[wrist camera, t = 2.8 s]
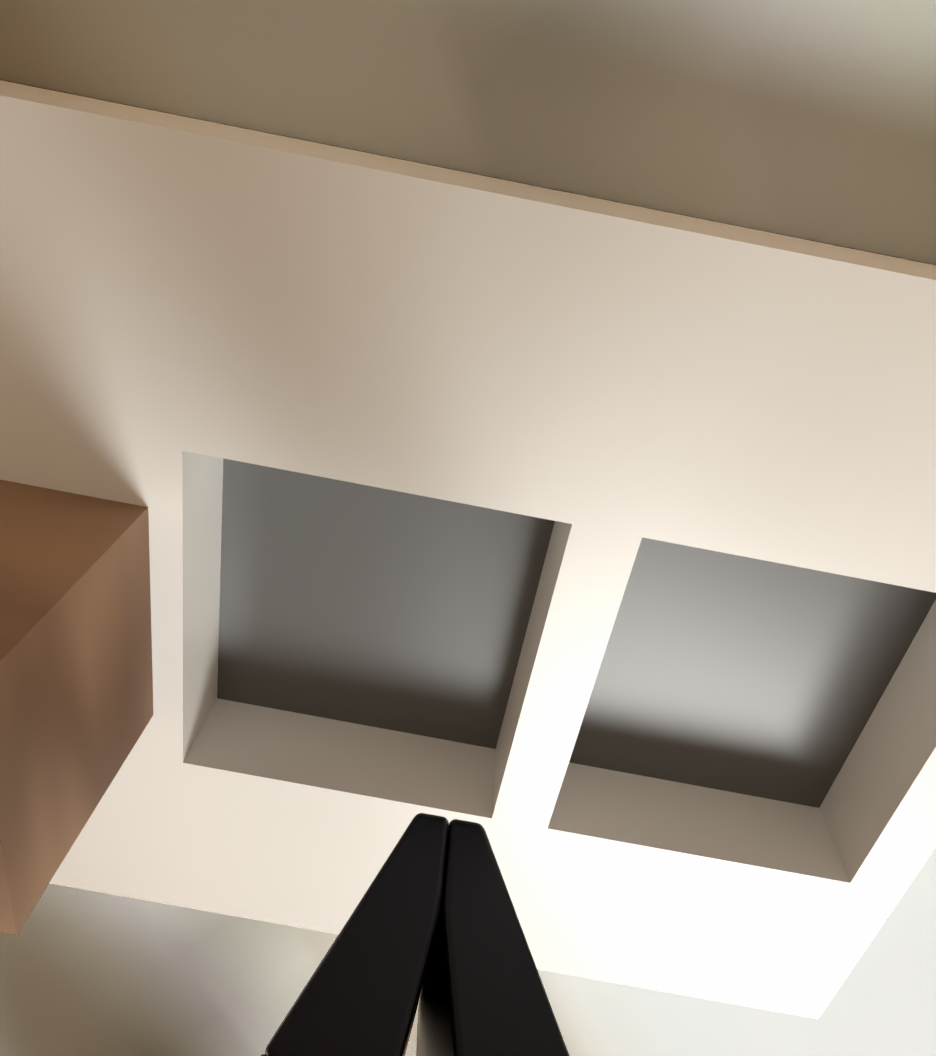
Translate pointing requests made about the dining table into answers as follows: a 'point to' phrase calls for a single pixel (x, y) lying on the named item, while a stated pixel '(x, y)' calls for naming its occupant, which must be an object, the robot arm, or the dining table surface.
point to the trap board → (489, 540)
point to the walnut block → (65, 673)
